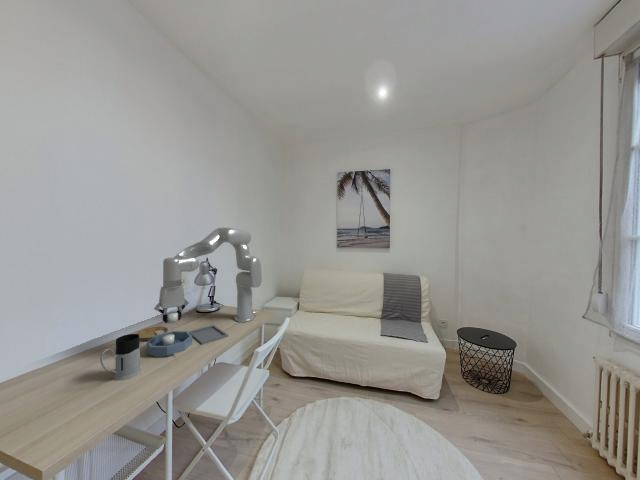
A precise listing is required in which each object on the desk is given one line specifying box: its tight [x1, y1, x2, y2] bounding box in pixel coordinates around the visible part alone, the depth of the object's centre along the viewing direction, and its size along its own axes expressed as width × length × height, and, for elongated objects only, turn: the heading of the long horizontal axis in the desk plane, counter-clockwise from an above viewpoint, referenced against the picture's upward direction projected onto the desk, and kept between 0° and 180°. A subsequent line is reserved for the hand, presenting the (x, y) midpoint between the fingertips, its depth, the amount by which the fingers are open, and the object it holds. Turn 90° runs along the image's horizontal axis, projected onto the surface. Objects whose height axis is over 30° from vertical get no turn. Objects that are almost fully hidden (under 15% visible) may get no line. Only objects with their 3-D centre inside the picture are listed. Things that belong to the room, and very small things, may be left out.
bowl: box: [146, 330, 193, 358], centre depth 123 cm, size 18×18×5 cm
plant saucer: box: [135, 326, 169, 341], centre depth 136 cm, size 15×15×3 cm
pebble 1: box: [166, 311, 179, 325], centre depth 120 cm, size 5×5×4 cm
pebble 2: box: [163, 334, 174, 346], centre depth 126 cm, size 5×5×4 cm
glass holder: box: [99, 333, 142, 381], centre depth 98 cm, size 9×14×15 cm, turn 164°
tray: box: [188, 324, 229, 345], centre depth 137 cm, size 14×19×2 cm
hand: (172, 320), depth 120 cm, fingers closed on pebble 1, 4 cm apart
